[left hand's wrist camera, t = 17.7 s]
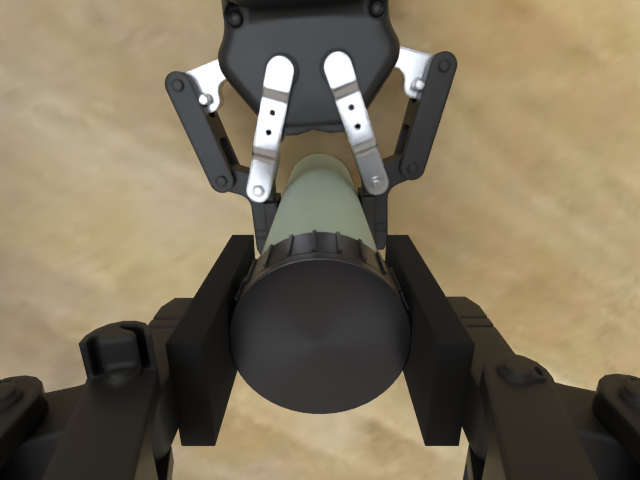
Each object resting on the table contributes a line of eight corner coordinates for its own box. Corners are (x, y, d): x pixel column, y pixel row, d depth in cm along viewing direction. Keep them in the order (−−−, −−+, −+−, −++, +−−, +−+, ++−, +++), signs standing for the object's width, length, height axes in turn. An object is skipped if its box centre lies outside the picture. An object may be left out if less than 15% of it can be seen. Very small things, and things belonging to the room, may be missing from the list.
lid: (364, 387, 13) (372, 435, 11) (221, 345, 13) (204, 389, 11) (427, 260, 12) (448, 291, 10) (266, 205, 11) (255, 227, 9)
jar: (276, 192, 28) (210, 343, 11) (312, 140, 27) (300, 221, 10) (326, 226, 29) (336, 414, 12) (364, 178, 28) (433, 312, 11)
